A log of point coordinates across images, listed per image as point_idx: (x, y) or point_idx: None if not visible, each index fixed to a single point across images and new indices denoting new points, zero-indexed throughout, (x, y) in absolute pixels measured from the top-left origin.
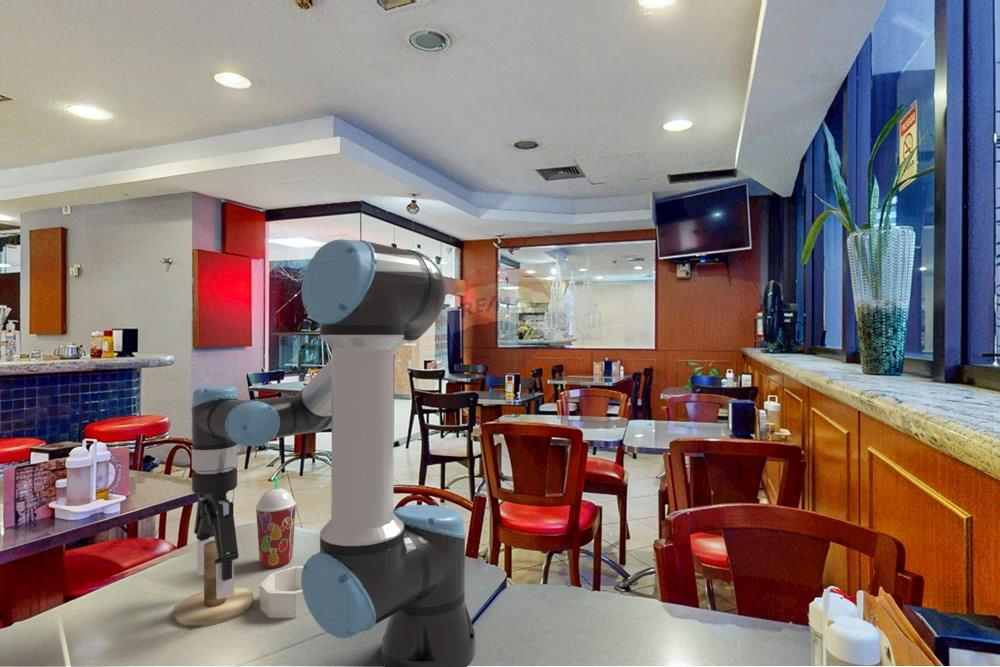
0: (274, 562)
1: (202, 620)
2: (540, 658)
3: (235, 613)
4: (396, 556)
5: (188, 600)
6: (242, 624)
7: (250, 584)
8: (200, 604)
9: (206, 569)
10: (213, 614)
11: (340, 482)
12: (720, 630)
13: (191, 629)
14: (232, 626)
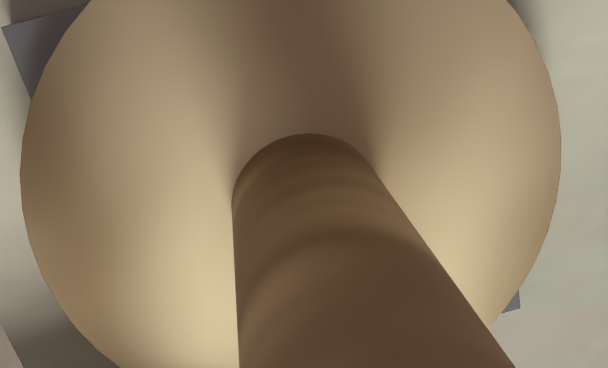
0: None
1: (25, 127)
2: None
3: (79, 324)
4: None
5: (458, 18)
6: (22, 331)
7: (564, 361)
8: (330, 107)
9: (297, 324)
10: (97, 199)
11: None
12: None
13: (11, 42)
14: (17, 281)
